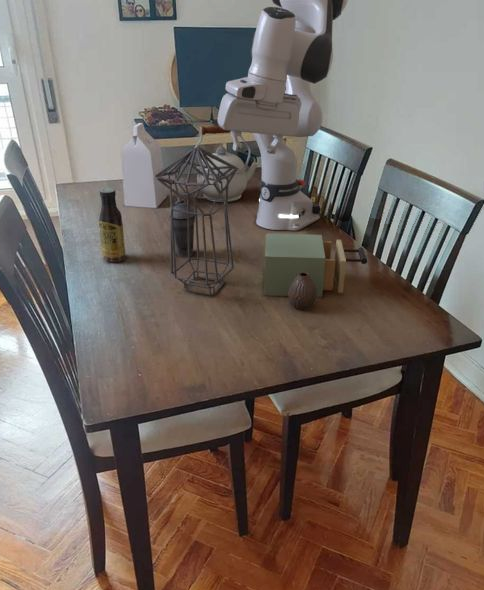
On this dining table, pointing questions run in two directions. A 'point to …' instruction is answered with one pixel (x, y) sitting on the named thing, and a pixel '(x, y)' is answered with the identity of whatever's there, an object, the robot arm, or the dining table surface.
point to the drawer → (338, 264)
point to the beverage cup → (183, 228)
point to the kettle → (239, 178)
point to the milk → (142, 170)
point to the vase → (302, 292)
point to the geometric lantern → (177, 166)
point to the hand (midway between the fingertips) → (253, 151)
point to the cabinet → (292, 261)
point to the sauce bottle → (111, 227)
